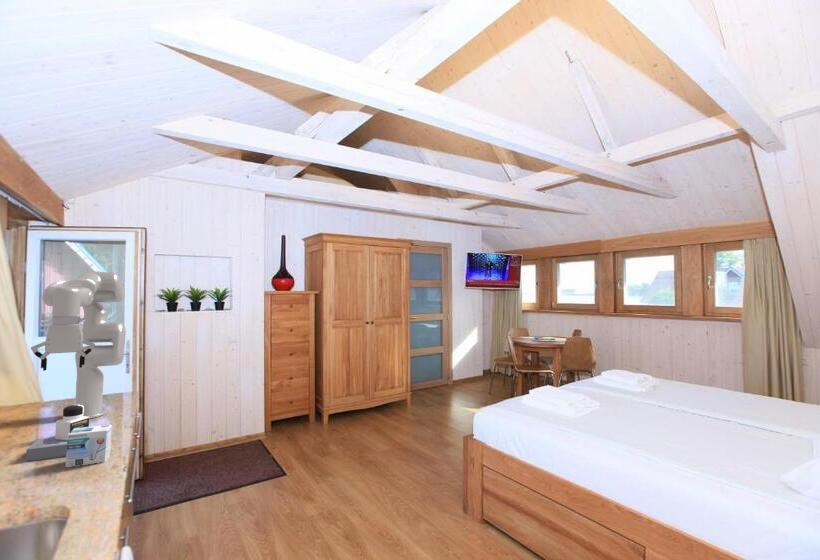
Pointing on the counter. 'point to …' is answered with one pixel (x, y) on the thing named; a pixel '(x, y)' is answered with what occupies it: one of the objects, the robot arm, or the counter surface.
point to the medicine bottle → (71, 421)
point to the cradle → (45, 451)
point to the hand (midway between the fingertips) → (63, 368)
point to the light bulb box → (88, 445)
